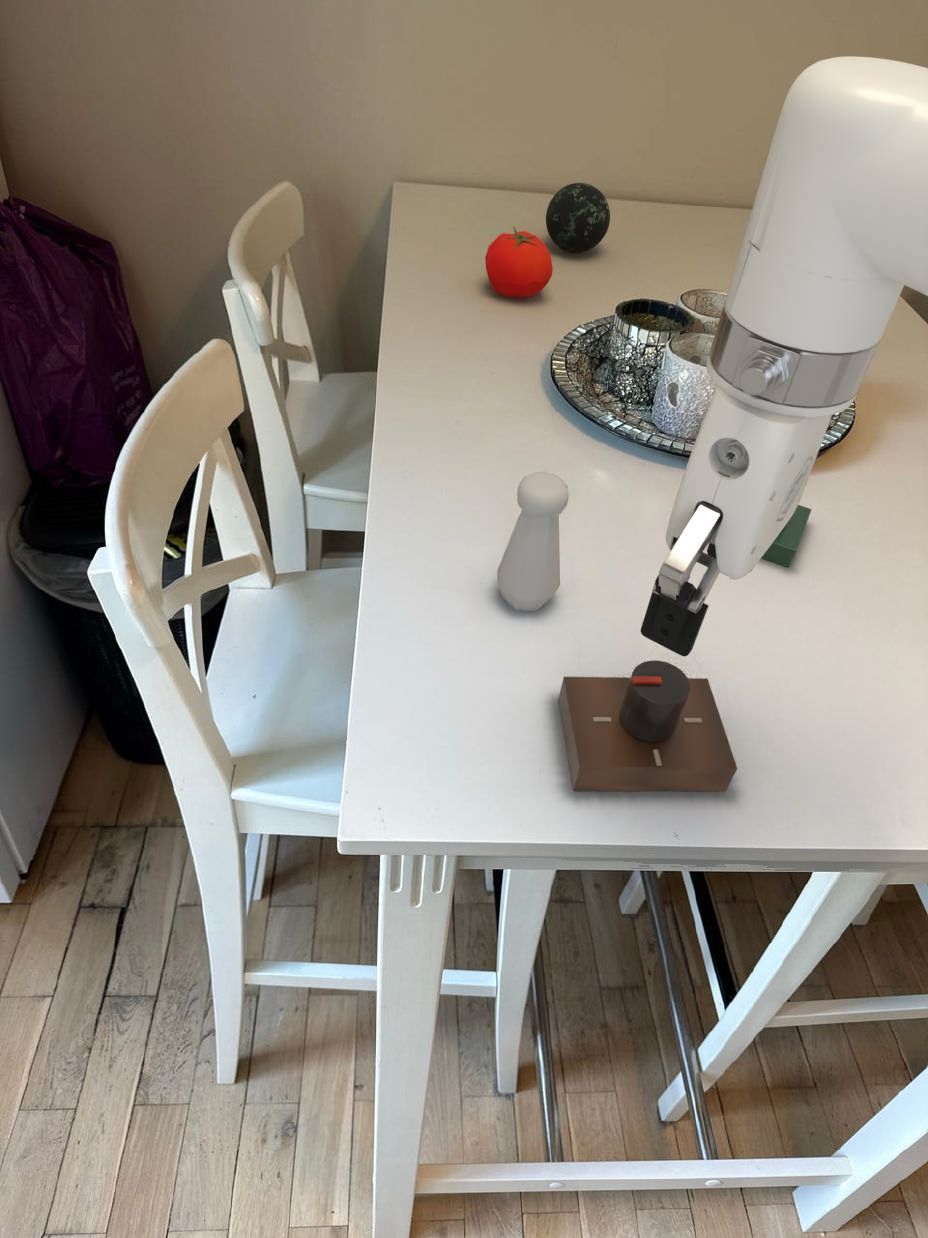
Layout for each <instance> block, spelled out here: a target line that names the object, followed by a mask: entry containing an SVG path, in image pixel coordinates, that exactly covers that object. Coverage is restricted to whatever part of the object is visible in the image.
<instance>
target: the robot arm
mask: <svg viewBox="0 0 928 1238" xmlns="http://www.w3.org/2000/svg"><path fill="white" fill-rule="evenodd" d="M772 137H773V138H772V141H771V145H770V147H769V151H768V155H767V158H766V161H765V164H764V168H763V172H762V175H761V177H760V178H761V179H760V182H759V185H758V188H757V191H756V195H755V198H754V202H753V205H752V208H751V212H750V216H749V218H748V222H747V226H746V229H745V232H744V236H743V240H742V243H741V246H740V249H739V253H738V256H737V259H736V263H735V266H734V269H733V273H732V276H731V279H730V282H729V285H728V289H727V292H726V295H725V299H724V303H723V305H722V310H721V312H720V313H721V314H720V316H719V320H718V323H717V327H716V330H715V332H714V337H713V341H712V344H711V347H710V350H709V353H708V357H707V360H706V372H707V374H708V376H709V378H710V380H711V381H712V382H713V383H714V384H715V385H716V387H715V390H714V392H713V395H712V397H711V399H710V402H709V405H708V408H707V411H706V413H705V415H704V417H703V419H702V420H701V423H700V428H699V431H698V433H697V436H696V439H695V442H694V444H693V447H692V449H691V453H690V455H689V458H688V460H687V464H686V466H685V470H684V472H683V475H682V479H681V480H680V481H681V482H680V484H679V487H678V490H677V494H676V497H675V500H674V503H673V507H672V508H671V509H672V510H671V513H670V516H669V519H668V520H669V521H668V524H667V529H666V533H665V543H666V545H667V548H668V549H669V553H668V554H667V556H666V558H665V559H664V560H663V563H662V565H661V566H660V568H659V570H658V576H657V577H656V578H655V580H654V584H653V587H652V590H651V595H650V598H649V601H648V605H647V608H646V609H645V610H646V611H645V614H644V617H643V620H642V623H641V627H640V634H641V635H642V636H643V637H644V638H646V639H648V640H650V641H652V642H654V643H655V644H658V645H659V646H662V647H664V648H666V649H667V650H669V651H671V652H673V653H675V654H677V655H678V656H681V657H688V656H689V655H690V653H691V652H692V650H693V648H694V646H695V643H696V640H697V638H698V635H699V632H700V630H701V628H702V624H703V622H704V619H705V617H706V614H707V611H708V609H709V606H710V605H709V604H707V603H705V601H706V599H707V597H708V595H709V594H710V592H711V590H712V588H713V586H714V585H715V582H716V580H717V578H718V576H719V575H720V574H722V575H723V576H726V577H728V578H729V579H730V580H733V581H735V580H739V579H741V578H744V577H746V576H748V575H749V574H750V573H751V572H752V571H753V570H754V568H755V566H756V565H757V564H758V563H759V562H760V561H761V559H762V558H761V557H762V556H763V555H764V553H765V552H766V551H767V550H768V548H769V547H770V546H771V544H772V543H773V542H774V540H775V539H776V538H777V536H778V535H779V533H780V532H781V531H782V529H783V528H784V527H785V525H786V524H787V522H788V521H789V520H790V518H791V517H792V515H793V513H794V512H795V510H796V508H797V506H798V505H800V501H801V499H802V496H803V494H804V491H805V488H806V486H807V483H808V480H809V478H810V476H811V472H812V470H813V467H814V464H815V462H816V460H817V457H818V454H819V452H820V449H821V446H822V443H823V441H824V439H825V436H826V433H827V430H828V429H829V426H830V422H831V419H832V416H834V415H836V414H841V413H842V412H844V411H845V410H847V409H849V407H851V406H852V404H853V403H854V400H855V398H856V396H857V394H858V391H859V390H860V387H861V385H862V383H863V381H864V378H865V376H866V375H867V374H866V373H867V371H868V368H869V367H870V365H871V363H872V360H873V357H874V356H875V353H876V351H877V349H878V346H879V344H880V341H881V339H882V337H883V335H884V333H885V330H886V328H887V326H888V323H889V321H890V319H891V317H892V314H893V313H894V310H895V307H896V305H897V303H898V300H899V298H900V296H901V294H902V292H903V290H904V287H908V288H910V289H912V290H914V291H916V292H918V293H920V294H922V295H924V296H926V297H928V67H924V66H921V65H917V64H912V63H909V62H904V61H900V60H899V61H898V60H893V59H887V58H878V57H870V56H856V55H853V56H847V55H845V56H836V57H831V58H826V59H822V60H819V61H816V62H814V63H813V64H811V65H810V66H808V67H806V68H805V69H804V70H803V71H802V72H801V73H800V74H799V75H798V76H797V77H796V79H795V80H794V81H793V83H792V84H791V86H790V88H789V91H788V92H787V94H786V97H785V99H784V103H783V105H782V109H781V112H780V113H779V117H778V121H777V123H776V127H775V130H774V133H773V136H772ZM707 545H708V547H707ZM706 547H707V549H706ZM705 549H706V553H705V552H704V551H705ZM696 563H697V564H699V565H701V566H704V567H706V568H707V569H706V570H705V572H704V574H703V576H702V578H701V579H700V582H699V584H698V586H697V587H696V586H695V585H694V584H693V583H691V582H690V581H689V580H690V578H691V573H692V571H693V570H694V569H693V568H694V567H695V565H696Z"/></svg>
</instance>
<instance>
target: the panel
mask: <svg viewBox="0 0 928 1238" xmlns="http://www.w3.org/2000/svg"><path fill="white" fill-rule="evenodd" d="M630 678H631V677H625V676H624V677H618V676H617V677H616V676H608V677H607V676H563V679H562V682H561V687H560V691H559V696H558V699H557V701H558V707H559V714H560V719H561V726H562V732H563V738H564V744H565V750H566V755H567V762H568V767H569V773H570V779H571V786H572V792H727V790H728V788H729V787H730V784H731V782H732V781H733V778H734V776H735V775H736V772H737V770H738V767H737V763H736V760H735V757H734V754H733V751H732V748H731V745H730V742H729V740H728V736H727V733H726V729H725V727H724V724H723V720H722V718H721V714H720V711H719V708H718V706H717V703H716V700H715V697H714V694H713V690H712V688H711V687H712V686H711V685H710V682H709V678H696V677H694V678H693V677H691V678H690V677H687V678H688V680H689V682H690V688H691V689H690V694H689V696H688V699H687V701H686V704H685V706H684V709H683V711H682V714H681V716H680V719H679V722H678V724H677V727H676V729H675V732H674V733H673V735H672V736H671V737H670V738H668V739H667V740H664V741H661V742H655V743H652V742H645V741H641V740H639V739H637V738H635V737H633V736H632V735H630V734H629V733H628V732H627V731H626V730H625V729H624V727H623V726H622V724H621V721H620V710H621V707H622V704H623V700H624V697H625V694H626V691H627V688H628V685H629V681H630Z"/></svg>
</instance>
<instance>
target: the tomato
mask: <svg viewBox="0 0 928 1238" xmlns="http://www.w3.org/2000/svg"><path fill="white" fill-rule="evenodd" d="M512 227H513V231H514V233H508V232H507V233H506V232H502V233H501V234H499V235H498V236H497V237H496V238H495V239H494V240H493V241H492V242H491V243H490V244H489V245H488V247H487V251H486V254H485V256H484V257H485V259H484V260H485V271H486V275H487V278H488V282H489V284H490V286H491V287H492V289H493V290H494V291H495V292H496V293H497V294H499V295H502V296H506V297H509V298H517V299H518V298H519V299H520V298H521V299H522V298H525V297H532V296H535V295H536V294H538V293H540V292H541V291H543V290H544V289H545V287H546V286H547V285H548V284H549V282H550V281H551V278H552V277H553V271H554V266H553V260H552V257H551V254H550V252H549V249H548V246H547V245H546V244H545V243H544V242H543V241H542V240H541V239H540V238H539V237H538V235H537V234H533V233H531V232H529V231H524V230H522V231H521V230H519V231H518V230H517V229H516V227H515V226H514V225H512Z"/></svg>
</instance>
